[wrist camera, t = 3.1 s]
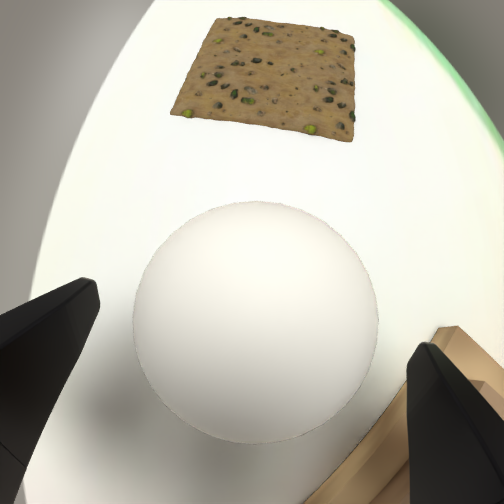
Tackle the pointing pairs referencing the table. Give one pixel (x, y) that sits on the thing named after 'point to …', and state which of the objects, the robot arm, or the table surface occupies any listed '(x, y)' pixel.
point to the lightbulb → (255, 322)
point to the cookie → (273, 78)
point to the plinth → (405, 433)
